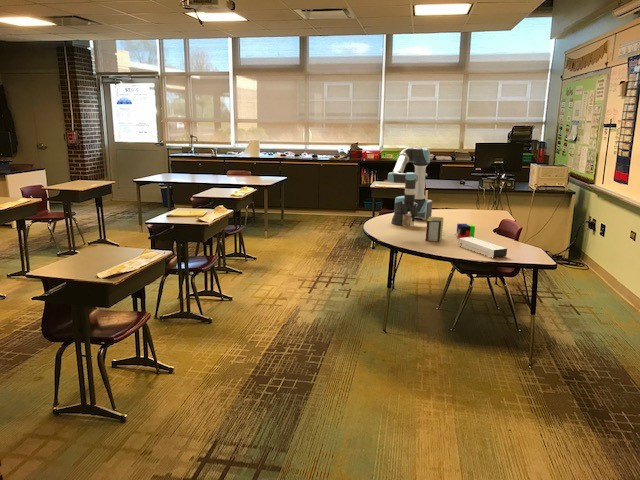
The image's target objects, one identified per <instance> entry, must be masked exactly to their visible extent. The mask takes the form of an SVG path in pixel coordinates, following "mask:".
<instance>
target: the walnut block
mask: <svg viewBox="0 0 640 480" xmlns="http://www.w3.org/2000/svg"><path fill="white" fill-rule="evenodd" d="M411 217H412V216H411V214H409V212H408V213H407V214H404V215H403V221H402V225H401V226H403V227H408V228H410V227H411V226H410V221H411ZM414 222H415V220H414V221H413V226H414V224H415V223H414Z"/></svg>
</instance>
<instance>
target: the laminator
mask: <svg viewBox="0 0 640 480" xmlns="http://www.w3.org/2000/svg"><path fill="white" fill-rule="evenodd" d="M458 241H459V242H458V247H460V246H461V248H464V249H466V250H468V249H469V251H471V250H472V252H474V251H475V252H474V253H477V252H478V253H477V254H479V253H481V254H480V255H482V254H484V255H483V256H485V255H487V256H490V257H493V258H492V259H496V258H495V257H499V258H504V257H503V256H506V257H507V254H508V248H507V247H503V246H500V245H497V244H495V243H490V242H488V241H486V240H482V239H480V238H476V237H474V238H473V237H465V238H458ZM487 256H486V257H487ZM490 257H489V258H490Z"/></svg>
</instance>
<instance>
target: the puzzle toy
mask: <svg viewBox="0 0 640 480" xmlns="http://www.w3.org/2000/svg"><path fill="white" fill-rule="evenodd" d="M475 231H476V226H475V225H473V224H472V223H457V224H456V235H455V236H456V238H458V239H459V238H465V237H473V238H475Z"/></svg>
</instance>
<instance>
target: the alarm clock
mask: <svg viewBox="0 0 640 480" xmlns="http://www.w3.org/2000/svg"><path fill="white" fill-rule="evenodd" d="M426 199H427V200H428V201H427V206H426V210H425V212H424V213H417V216H416V217H415V218H414V219H421V220H422V221H425V222H427V220H428V218H429V217H432V211H433V200H432V199H428V198H426ZM408 214H411V212H408Z"/></svg>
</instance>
